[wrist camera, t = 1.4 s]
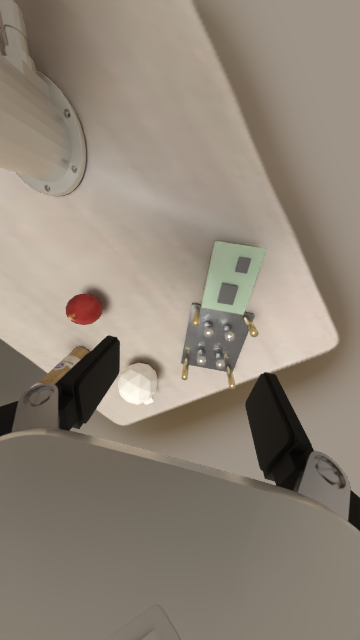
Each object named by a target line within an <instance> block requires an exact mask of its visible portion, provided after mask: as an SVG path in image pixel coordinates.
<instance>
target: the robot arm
mask: <svg viewBox="0 0 360 640" xmlns="http://www.w3.org/2000/svg"><path fill="white" fill-rule="evenodd" d="M0 13H1V17H2V22H3V27H4V30H5V32H6V36H7V41H8V45H6V46H5V45H4V40H3V36H2V31H1V27H0V167H1V168H4V169H7V170H10V171H13V172H16V174H17V175H18V176H19V177H20V178H21V179H22V180H23V181H24V182H25V183H26V184H28V185H29V186H30V187H32V188H33V189H35V190H37V191H39V192H41V193H44V194H47V195H52V196H63V195H66V194H69V193H70V192H72V191H73V190H74V189H75V188H76V187H77V186H78V185H79V183H80V181H81V179H82V177H83V174H84V170H85V164H86V146H85V140H84V135H83V131H82V128H81V124H80V122H79V119H78V117H77V115H76V112H75V110H74V109H73V107H72V105H71V104H70V102H69V100H68V99H67V98H66V96H65V95H64V94H63V93H62V91H61V90H60V89H59V88H58V87H57V86H56V85H55V84H54V83H53V82H52V81H51V80H50V79H49V78H47V77H46V76H45V75H44V74H42V73H41V72H39V71H37V70H36V69H35V64H34V61H33V60H32V58H31V57H30V56H29V51H28V46H27V42H28V40H27V34H26V29H25V23H24V17H23V13H22V11H21V9H20V8H19V6H18V5H17V4H16V3H15V2H14V1H13V0H0ZM119 366H120V341H119V340H118V339H117V337H113V336H107V337H106V338H105V339H104V340H102V341H101V342H100V343H99V344H98V345H97V346H96V347H95V348H94V349H93V350H92V351H91V352H89V353H87V354H86V355H85V356H84V357H83V358H82V359H81V360H80V361H79V362H78V363H76V364H75V365H74V366H73V367H72V368H71V369H70V370H69V371H68V372H67V373H66V374H65V375H64V376H63V377H62V378H61V379H60V380H59V381H58V382H56V383H55V384H51V383H44V384H39V385H36V386H34V387H32V388H30V389H28V390H27V391H25V392H24V393H23V394H22V395H21V397H20V398H19V401H16V402H13V403H10V404H7V405H4V406H1V407H0V640H360V498H359V497H358V496H357V495H356V494H355V493H354V492H352V491H351V487H350V482H349V480H348V478H347V476H346V474H345V473H344V471H343V470H342V469H341V467H340V466H339V465H338V464H337V463H336V462H335V461H334V460H333V459H332V458H330V457H329V456H327V455H326V454H324V453H321V452H318V451H314V450H313V448H312V445H311V443H310V441H309V439H308V437H307V435H306V433H305V431H304V429H303V427H302V425H301V423H300V421H299V419H298V417H297V415H296V414H295V412H294V410H293V408H292V406H291V404H290V402H289V400H288V398H287V396H286V394H285V392H284V390H283V388H282V386H281V384H280V383H279V381H278V378H277V376H276V375H275V374H271V373H267V372H265V373H264V374H261V375H260V376H259V378H258V380H257V382H256V384H255V386H254V388H253V389H252V391H251V393H250V395H249V397H248V399H247V401H246V411H247V415H248V420H249V424H250V428H251V432H252V437H253V440H254V445H255V449H256V454H257V458H258V462H259V466H260V469H261V470H262V471H263V473H264V477H265V479H268V480H272V481H275V483H276V486H275V485H272V484H268V483H265V482H261V481H258V480H255V479H251V478H248V477H243V476H240V475H237V474H233V473H229V472H226V471H222V470H218V469H215V468H211V467H207V466H204V465H200V464H196V463H193V462H189V461H185V460H181V459H178V458H174V457H170V456H167V455H163V454H159V453H155V452H151V451H147V450H144V449H140V448H136V447H132V446H128V445H125V444H121V443H117V442H113V441H110V440H106V439H102V438H98V437H93V436H89V435H85V434H81V433H77V432H72V431H70V429H71V428H72V427H73V428H77V429H80V427H81V426H82V424H83V423H87V421H88V420H89V418H90V417H91V415H92V414H93V412H94V411H95V409H96V408H97V406H98V405H99V403H100V402H101V400H102V399H103V397H104V396H105V394H106V393H107V391H108V390H109V388H110V386H111V385H112V383H113V382H114V380H115V379H116V377H117V376H118V374H119Z"/></svg>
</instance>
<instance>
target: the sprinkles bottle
mask: <svg viewBox="0 0 360 640" xmlns="http://www.w3.org/2000/svg"><path fill="white" fill-rule="evenodd" d="M87 353H89V351H88V350H87V349H85V348H83V347H76V348H75V349H74V350H73V351H72V352H71V353H70V354H69V355H68V356H66V357H65V358H64V359H63V360H62V361H61V362H60V363H59V364H57V365H56V367H54V368H53V369H52V370H51V371H50V372H49V373H48V374H47V375H46V376H45V377H44V378H43V379H42V380H40V381H39V382H38V383H37V384H35V385H33V386H32V387H34V386H36V385H39V384H44V383H51V384H55V383H56V382H58V381H59V380H60V379H61V378H62V377H63V376H64V375H65V374H66V373H67V372H68V371H69V370H70V369H71V368H72V367H73V366H74V365H75V364H76V363H78V362H79V361H80V360H81V359H82V358H83V357H84V356H85V355H86V354H87ZM32 387H31V388H32Z"/></svg>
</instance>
